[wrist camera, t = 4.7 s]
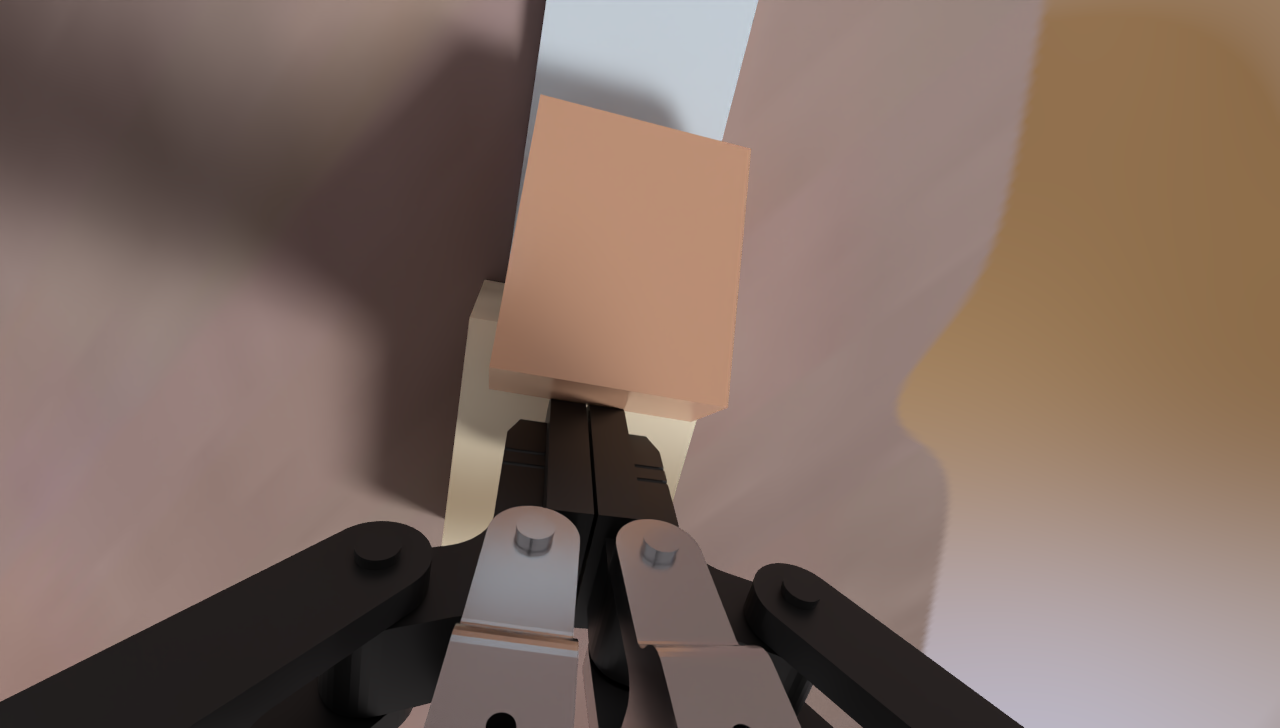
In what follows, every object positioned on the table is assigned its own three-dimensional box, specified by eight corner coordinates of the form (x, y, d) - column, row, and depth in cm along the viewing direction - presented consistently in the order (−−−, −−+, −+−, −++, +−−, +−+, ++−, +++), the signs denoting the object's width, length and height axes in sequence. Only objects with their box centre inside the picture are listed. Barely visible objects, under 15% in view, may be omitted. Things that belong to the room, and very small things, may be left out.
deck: (484, 279, 14) (469, 316, 12) (692, 316, 15) (714, 357, 13) (452, 523, 17) (435, 591, 15) (630, 541, 18) (641, 608, 16)
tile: (532, 154, 13) (540, 94, 11) (714, 197, 14) (751, 148, 12) (488, 389, 12) (489, 367, 10) (690, 421, 12) (727, 408, 11)
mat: (566, -135, 11) (566, -141, 11) (771, -70, 12) (777, -76, 12) (506, 283, 14) (504, 288, 14) (672, 312, 15) (675, 318, 15)
